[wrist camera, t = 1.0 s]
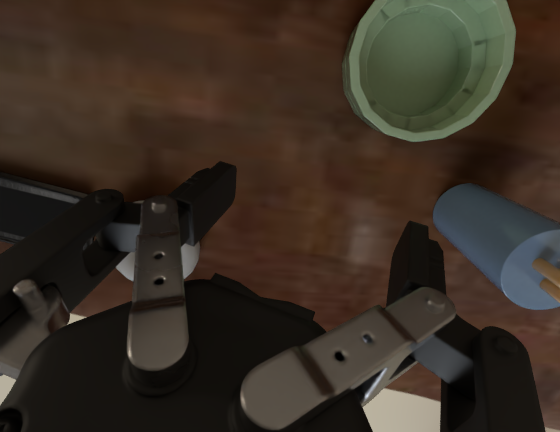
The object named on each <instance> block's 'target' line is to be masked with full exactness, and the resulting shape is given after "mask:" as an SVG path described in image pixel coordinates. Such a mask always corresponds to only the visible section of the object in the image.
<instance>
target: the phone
mask: <svg viewBox="0 0 560 432" xmlns="http://www.w3.org/2000/svg"><path fill="white" fill-rule="evenodd" d="M86 196H87V194H84V193H81V192H77V191H73V190H69V189H65V188H61V187H57V186H53V185H49V184H46V183H42V182H38V181H34V180H30V179H26V178H22V177H18V176H14V175H11V174H7V173H3V172H0V241H2V242H6V243H10V244H14V245H15V244H16V243H18V242H19V241H21V240H22V239H24V238H25V237H27V236H28V235H30V234H31V233H33V232H34V231H36V230H37V229H39V228H40V227H42V226H43V225H45V224H46V223H47V222H49V221H50V220H52V219H53V218H55V217H56V216H58V215H59V214H61V213H62V212H64V211H65V210H67V209H68V208H70V207H71V206H73V205H74V204H76V203H77V202H79V201H80V200H81V199H83V198H84V197H86ZM92 243H93V238H91V239H90V240H89V241H88V242H87V243H86V244H85V245H84V247H83V250H84V249H86V248H87V247H88V246H89V245H90V244H92ZM83 250H82V251H83Z"/></svg>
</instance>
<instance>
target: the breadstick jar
mask: <svg viewBox="0 0 560 432" xmlns="http://www.w3.org/2000/svg"><path fill="white" fill-rule="evenodd" d="M433 221H434V224H435V227H436V228H437V230H438V231H439V232H440V233H441V234H442V235H443V236H444V237H445V238H446V239H447V240H448V241H449V242H450V243H451V244H452V245H454V246H455V247H456V248H457V249H458V250H459V251H460V252H461V253H462V254H463V255H464V256H465V257H466V258H467V259H468V260H469V261H470V262H471V263H472V264H473V265H474V266H475V267H476V268H477V269H479V270H480V271H481V272H482V273H483V274H484V275H485V276H486V277H487V278H488V279H489V280H490V281H491V282H492V283H493V284H494V285H495V286H496V287H497V288H498V289H499V290H500V291H501V292H502V293H503V294H505V295H506V296H507V297H508V298H509V299H510V300H511V301H512V302H514V303H515V304H517V305H519V306H521V307H524V308H528V309H535V310H545V309H552V308H556V307H559V306H560V223H559V222H557V221H555V220H553V219H551V218H549V217H547V216H544V215H542V214H540V213H538V212H536V211H534V210H532V209H530V208H528V207H525V206H523V205H521V204H519V203H517V202H515V201H513V200H511V199H508V198H506V197H504V196H502V195H500V194H498V193H496V192H494V191H492V190H489V189H487V188H485V187H483V186H481V185H478V184H472V183H466V184H460V185H457V186H455V187H452V188H451V189H449V190H447V191H446V192H445V193H444V194H443V195H442V196H441V197H440V198H439V199H438V201H437V203H436V204H435V207H434V211H433Z"/></svg>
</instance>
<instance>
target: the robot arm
mask: <svg viewBox="0 0 560 432" xmlns="http://www.w3.org/2000/svg"><path fill="white" fill-rule="evenodd" d="M236 172H237V170H236V166H234V165H231V164H228V163H225V162H221V161H220V162H218V163H217V164H216V165H215V166H213V167H212V168H211V169H209V168H206V169H203V170H200V171H198V172H196V173H195V174H194V175H193V176H191V178H189V179H188V180H186V182H184V183H183V184H181V185H180V186H179V187H178V188H176V189H175V190H174V191H173V192H172V193H170V194H169V195H168V196H164V195H158V196H153V197H150V198H147V199H146V200H144V201H143V203H132V202H124V198H123V194H122V193H121V192H119V191H117V190H114V189H102V190H98V191H95V192H92V193H90V194H89V195H87V196H86V197H84V198H83V199H81V200H80V201H79V202H77V203H76V204H74V205H73V206H71V207H70V208H68V209H67V210H65V211H64V212H62V213H61V214H59V215H58V216H56V217H55V218H53V219H52V220H50V221H49V222H47V223H46V224H45V225H43V226H42V227H40V228H39V229H37V230H36V231H34V232H33V233H31V234H30V235H28V236H27V237H25V238H24V239H22V240H21V241H19V242H18V243H16V244H15V245H13V246H12V247H10V248H9V249H8V250H6V251H5V252H3V253H2V254H0V376H2V375H3V374H4V375H6V376H9V377H11V378H13V379H16V382H15V384H14V385H13V387H12V389H11V391H10V392H9V394H8V395H7V397H6V398H5V400H4V401H3V402H2V404H1V405H0V432H373V431H372V429H371V427H370V424H369V422H368V419H367V417H366V415H365V413H364V410H363V408H362V407H363V406H365V405H366V404H367V403H369V402H370V401H371V400H372V399H373V398H374V397H375V396H376V395H377V394H378V393H379V392H380V391H381V390H382V389H383V388H385V387H386V386H387V385H388V384H390V383H391V382H392V381H394V380H395V379H396V378H398V377H399V376H400V375H402V374H403V373H404V372H406V371H407V370H408V369H410V368H411V367H412V366H414V365H415V364H416V363H418V362H419V363H420V364H422V365H423V366H425V367H426V368H427V369H429V370H430V371H432V372H433V373H434V374H436V375H437V376H438V377H440V378H441V418H440V419H441V420H440V432H545V427H544V422H543V418H542V413H541V409H540V404H539V399H538V395H537V390H536V386H535V381H534V377H533V372H532V367H531V363H530V358H529V355H528V352H527V350H526V348H525V347H524V345H523V344H522V343H521V342H520V341H519V340H518V339H517V338H516V337H515V336H514V335H512V334H511V333H509V332H507V331H506V330H503V329H501V328H498V327H493V326H489V327H485V328H484V329H482V331H480V330H479V329H477V328H476V327H474V326H472V325H471V324H469V323H467V322H466V321H464V320H463V319H461V318H460V317H459V316H458V315H457V314H456V309H455V306H454V304H453V302H452V301H451V300H450V299H449V298H448V297H447V296H446V285H445V271H444V262H443V261H444V258H443V251H442V249H441V247H440V246H439V244H438V242H437V241H433V240H430V239H429V236H428V226H426V225H422V224H419V223H416V222H413V221H409V222H408V223H407V225H406V227H405V229H404V231H403V233H402V235H401V238H400V240H399V242H398V244H397V246H396V248H395V250H394V253H393V256H392V261H391V269H390V278H389V286H388V295H387V303H386V307H385V308H382V307H381V306H380V305H376V306H374V307H372V308H370V309H368V310H366V311H364V312H363V313H361V314H359V315H357V316H355V317H354V318H352V319H350V320H348V321H346V322H345V323H343V324H341V325H339V326H337V327H336V328H334V329H332V330H330V331H328V332H326V331H325V330H324V329H323V328H322V327H321V326H320V325H319V324H318V323H316V322H315V321H313V317H314V314H315V312H314V311H312V310H309V309H306V308H304V307H301V306H299V305H296V304H294V303H291V302H287V301H281V300H275V299H268V298H263V297H260V296H258V295H257V294H255V293H254V292H252V291H251V290H250V289H248V288H247V287H245V286H244V285H242V284H241V283H239V282H237V281H235V280H232V279H230V278H227V277H224V276H222V275H219V274H217V273H215V274H214V276H213V277H212V278H211V280H205V279H198V280H190V281H185V282H184V277H183V265H182V253H181V247H182V246H183V245H184V244H188V245H190V246H193V247H194V246H195V245H196V244H197V243H198V242H199V241H200V240H201V238H202V237H203V236H204V235H205V234H206V233H207V232H208V231H209V229H210V228H211V227H212V226H213V225H214V224H215V223H216V222H217V220H218V219H219V218H220V217H221V216H222V215H223V214H224V213H225V212H226V210H227V209H228V208H229V207H230V206H231V205H232V203H233V201H234V198H235V191H236ZM95 235H96V237H97V239H96V240H95V241H94V242H93V243H92V244H90V245H89V246H88V247H87V248H86V249H84V250H83V247H84V245H85V244H86V243H87V242H88V241H89V240H90V239H91V238H93V237H94V236H95ZM82 250H83V251H82ZM130 252H135V263H134V279H133V294H132V301H130V302H127V303H125V304H122V305H119V306H117V307H114V308H111V309H108V310H106V311H103V312H100V313H98V314H95V315H92V316H90V317H87V318H84V319H82V320H79V321H76V322H73V323H71V324H68V322H69V319H70V312H71V311H72V310H73V309H74V308H75V307H76V306H77V305H78V304H79V303H80V302H81V301H82V300H83V299H84V298H85V297H86V296H87V295H88V294H89V293H90V292H91V291H92V290H93V289H94V288H95V287H96V286H97V285H98V284H99V283H100V282H101V281H102V280H103V279H104V278H105V277H106V276H107V275H108V274H109V273H110V272H111V271H112V270H113V269H114V268H115V267H116V266H117V265H118V264H119V263H120V262H121V261H122V260H123V259H124V258H125V257H126V256H127V255H128V254H129V253H130ZM67 324H68V325H67Z"/></svg>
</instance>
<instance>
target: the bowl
mask: <svg viewBox="0 0 560 432" xmlns="http://www.w3.org/2000/svg"><path fill="white" fill-rule="evenodd" d="M515 29H516V28H515V25H514V22H513V19H512V16H511V13H510V9H509V6H508V3H507V0H375V1H374V2H373V4H372V5H371V6H370V8H369V9H368V10H367V12H366V13H365V15H364V16H363V17H362V19H361V20H360V21H359V23H358V24H357V26H356V27H355V29H354V30H353V32H352V33H351V35H350V38H349V41H348V44H347V48H346V51H345V54H344V58H343V61H342V74H343V89H344V93H345V95H346V97H347V99H348V101H349V103H350V105H351V107H352V109H353V111H354V113H355V114H356V115H357V116H358V117H359V118H360V119H362V120H363V121H364V122H365V123H366V124H367V125H369V126H370V127H371V128H372V129H374V130H376V131H379V132H381V133H384V134H386V135H390V136H393V137H397V138H401V139H404V140H408V141H411V142H418V141H426V140H434V139H442V138H445V137H447V136H449V135H451V134H453V133H455V132H457V131H458V130H460V129H462V128H464V127H466V126H468V125H470V124H472V123H473V122H474V121H475V120H476V119H477V118H478V117H479V116H480V115H481V114H482V113H483V112H484V111H485V110H486V109H487V108H488V107H489V106H490V105H491V104H492V103H493V101H494V100H495V99H496V97H497V96H498V94H499V92H500V90H501V88H502V86H503V84H504V82H505V80H506V77H507V75H508V73H509V71H510V69H511V67H512V65H513V56H514V45H515V35H516V30H515Z"/></svg>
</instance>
